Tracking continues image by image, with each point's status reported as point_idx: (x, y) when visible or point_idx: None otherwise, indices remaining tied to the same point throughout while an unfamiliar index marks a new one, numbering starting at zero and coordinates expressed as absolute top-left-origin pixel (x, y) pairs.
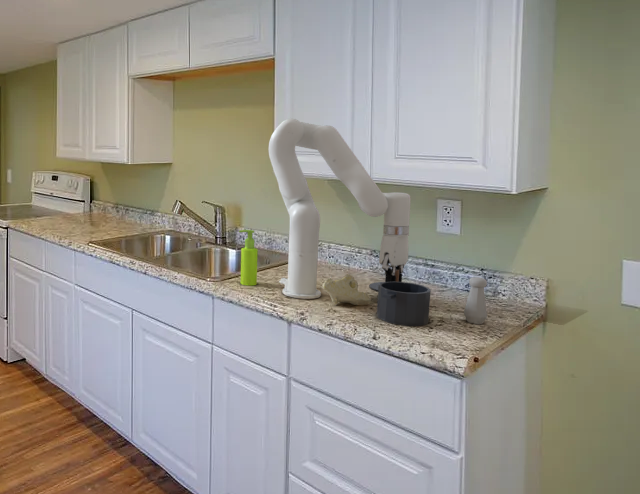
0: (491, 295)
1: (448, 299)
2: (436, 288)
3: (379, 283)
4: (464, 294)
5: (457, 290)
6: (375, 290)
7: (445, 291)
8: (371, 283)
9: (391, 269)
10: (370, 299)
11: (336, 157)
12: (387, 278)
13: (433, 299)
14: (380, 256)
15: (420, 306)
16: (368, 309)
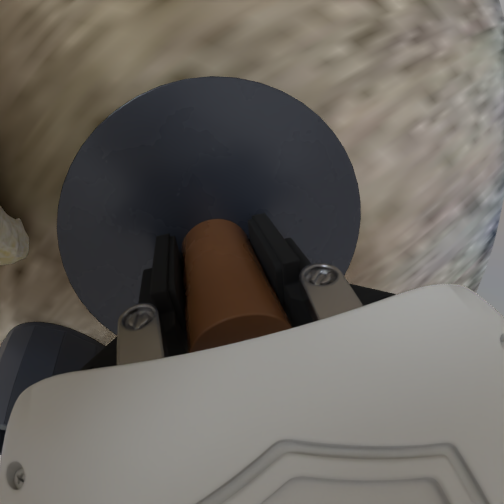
0: (477, 284)
1: (403, 283)
2: (485, 181)
3: (226, 117)
4: (466, 259)
5: (488, 225)
6: (59, 240)
7: (472, 216)
8: (166, 85)
9: (218, 346)
10: (19, 259)
11: None
12: (142, 301)
13: (373, 268)
14: (8, 502)
15: None
16: (5, 278)
